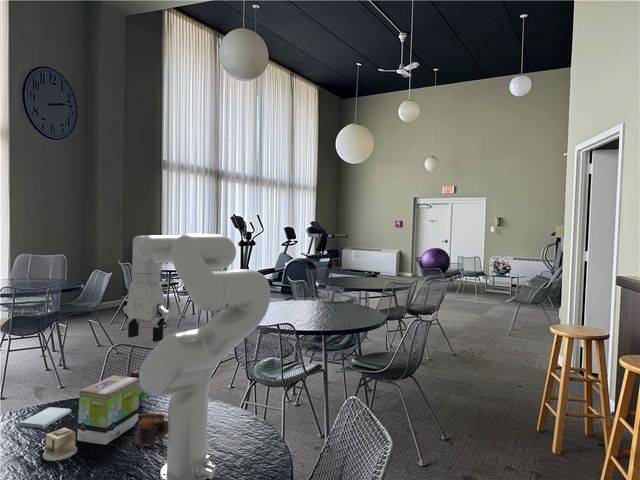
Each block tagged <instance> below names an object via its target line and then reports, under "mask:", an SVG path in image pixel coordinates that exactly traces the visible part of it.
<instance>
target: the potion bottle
mask: <svg viewBox="0 0 640 480" xmlns="http://www.w3.org/2000/svg"><path fill="white" fill-rule="evenodd" d="M139 374H140V370H131V371H130V372H129V374H128V375H127V377H132V378H139ZM146 396H147V393H145V392H144V390H143V389H142V387H141V385H140V389H139V406H141V405H142V406H143V402H144V400H145V398H146ZM142 406H141V407H142Z"/></svg>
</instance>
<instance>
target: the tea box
mask: <svg viewBox="0 0 640 480" xmlns="http://www.w3.org/2000/svg"><path fill="white" fill-rule="evenodd" d="M139 389H140V381H139V378H132V377H128V376H123V375H122V376H121V375H111V376H109V377H106V378H104V379H103V380H100V381H98V382H96V383H93V384H91V385H89V386H87V387H85V388H83V389H81V390H79V396H78V397H79V399H78V417H77V419H78V420H77V435H76V436H77V438H76V439H77V441H79V442H84V443H90V444H97V445H98V444H99V445H104V446H105V445H108V444H109V443H111V442H112V441H113V440H115V439H116V438H119V437H120V436H121V435H122V434H125V433H126V432H128V431H129V430H130V429H132V428H133V427H135V426H134V424H135V423H136V421H137V420H138V419H139V418H138V416H139V410H140V408H139Z"/></svg>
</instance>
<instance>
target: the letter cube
mask: <svg viewBox="0 0 640 480" xmlns="http://www.w3.org/2000/svg"><path fill="white" fill-rule="evenodd" d="M75 446H76V431H74V430H72V429H69V428H67V427H62V428H59V429H57V430H54V431H52V432H48V433H45V451H46V453H47V454H49V455H51V456H54V457H56V458H58V457H60V456H62V455H65V454H67V453H69V452H72V451H74V450H75Z"/></svg>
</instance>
